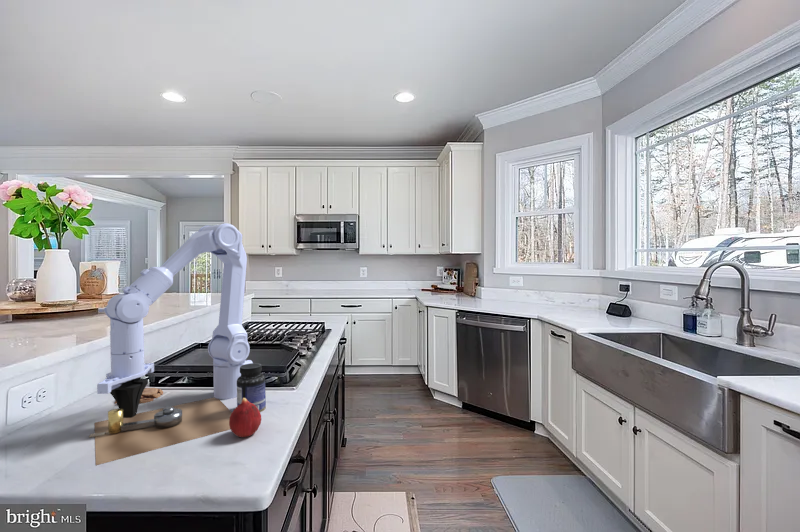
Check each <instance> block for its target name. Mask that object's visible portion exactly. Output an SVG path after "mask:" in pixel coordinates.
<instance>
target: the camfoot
mask: <svg viewBox="0 0 800 532" xmlns="http://www.w3.org/2000/svg"><path fill="white" fill-rule="evenodd" d="M162 408H163V411H160V412H158V413H156V414H155V415H154V419H150V420H143V421H137V422H130V423H123V409H119V408H114V409H111V410H109V411H107V420H108V433H110V434H113V433H118V432H121V431H126V430H133V429H139V428H145V427H152V426H155V427H157V428H166V427H171V426H174V425H177V424H179V423H181V422H182V410H181V409H174V407H171V406H165V407H162Z"/></svg>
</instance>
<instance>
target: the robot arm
mask: <svg viewBox="0 0 800 532" xmlns="http://www.w3.org/2000/svg"><path fill="white" fill-rule="evenodd" d="M204 253H211V254H213V255H215V256H216V257H217V259H219V260H220V261H221V263H222V264H223V269H222V280H221V293H220V304H219V305H220V306H219V316H218V317H219V318H218V324H217V326H216V328H214V329H213V331H212V338H211V339H210V342H209V343H208V345H207V352H208V355H209V356H210V357H211V358H212V362H213V363H212V365H213V397H215V398H217V399H219V400H231V399H237V379H238V378H239V377H240V376H241V373H240V366H242V365H245V364H250V363H254V362H253V361H252V360H251V359H248V357H249V355H250V350H251V349H250V348H251V347H250V343H249V342H248V333H247V331H246V329H245V328H244V326H243V314H244V302H245V288H246V278H247V277H246V276H247V275H246V274H247V264H248V255H247V253H246V249H245V248H244V245H243V234H242V233H241V231H240V230H239V229H237V227H236V226H235V225H233V224H231V223H226V222H225V223H221V224H214V225H213V224H212V225H204V226H202V227H200V228H199V229H198V230H197V231H195V232H193V233H192V234H191V235H190V237H189V238H188V239H187V240H186V241H184V242H183V244H181V246H180V247H178V249H177V250H176V251H175V252H173V253H172V254H171V255H170V256H169V257H168V258H167V260H166V261H165V262H163V264H161V265H160V266H150V267H148V268H144V269H142V270H141V271H140V272H139V274H140V276H139V277H138V278H136V279H135V280H134V281H133V282H132V283H131V284H130V285H127V286H124V287H123V288H122V289H121V290H122V291H123V293H119V294H116V295H113V296H112V297H111V298H110V299H109V300H108V301H107V303H106V304H107V305H106V307H104V308H103V309H104V310H103V311H104V313H105V315H106V317H107V318H108V319H110V322H109V325H110V326H109V327H110V329H109V330H110V331H109V335H110V336H109V338H110V339H109V341H110V343H109V344H110V348H109V349H110V372H107V373H106V374H105V379H103V380H102V381H100V382H99V383H96V386H97V391H96V393H97V395H101V394H105V395H106V394H107V395H108V394H110V395H111V396H112V398H113V399H114V401H116V402H117V407H118V409H123V418H132V417H134V416H135V415H136V414H138V413H137V412H138V409H139V404H140V403H139V402H140V398H141V395H142V393H143V391H144V389H145V388H147V385H148V384H149V379H148V378H143V376H145V375H147V374H152V373H154V372H155V363H153V362H151V363H150V362H149V363H145V328H144V318H145V317H147V315H148V314H149V310H150V306H152V305H153V304H154V303H155V302H156V301H157V300H158V299H159V298H160V297H161V296H162V295H164V293H166V291H168V290H169V289H170V288H171V287H172V286H173V284H174V276H175V275H176V274H178V273H179V272H180V271H181V270H183V269H184V268H185V267H186V266H187V265H188V264H190V263H191V262H192V261H193V260H195V259H196V258H197V257H198V256H199V255H200V254H204Z"/></svg>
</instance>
